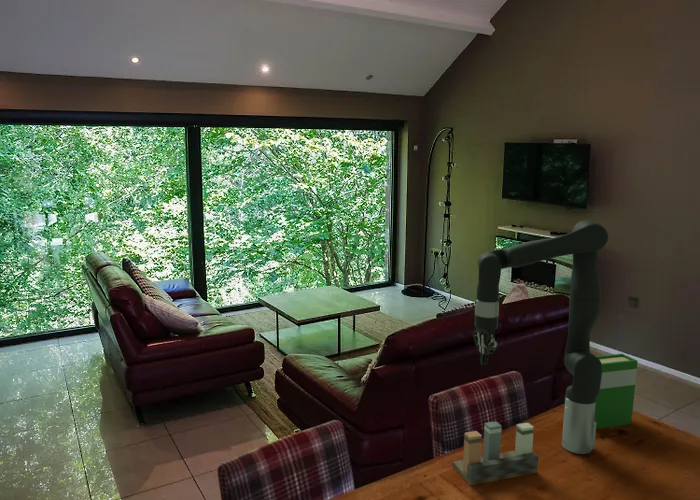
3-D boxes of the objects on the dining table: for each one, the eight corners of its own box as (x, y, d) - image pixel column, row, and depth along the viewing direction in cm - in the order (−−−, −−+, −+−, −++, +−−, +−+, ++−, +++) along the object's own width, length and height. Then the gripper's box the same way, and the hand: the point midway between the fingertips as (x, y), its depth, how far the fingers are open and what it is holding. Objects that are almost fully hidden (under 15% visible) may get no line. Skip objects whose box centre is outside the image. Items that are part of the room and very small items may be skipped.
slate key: (494, 457, 175) (496, 421, 173) (499, 462, 172) (501, 425, 170) (482, 459, 173) (484, 423, 171) (488, 464, 170) (490, 427, 168)
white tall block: (525, 458, 174) (527, 422, 172) (531, 463, 171) (534, 427, 169) (514, 460, 173) (516, 424, 171) (520, 465, 170) (522, 429, 168)
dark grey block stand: (515, 454, 180) (517, 438, 179) (537, 472, 169) (538, 456, 168) (452, 465, 173) (452, 449, 172) (470, 485, 162) (471, 468, 161)
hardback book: (590, 429, 197) (595, 365, 193) (576, 420, 204) (581, 357, 200) (631, 423, 201) (637, 360, 197) (616, 414, 208) (622, 353, 204)
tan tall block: (474, 467, 168) (476, 430, 166) (480, 473, 166) (482, 435, 164) (462, 469, 167) (464, 432, 165) (467, 475, 164) (469, 437, 162)
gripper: (508, 318, 177) (505, 369, 179) (485, 307, 189) (483, 355, 192) (487, 319, 174) (484, 372, 177) (466, 308, 187) (463, 358, 190)
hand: (484, 363), depth 185 cm, fingers closed
